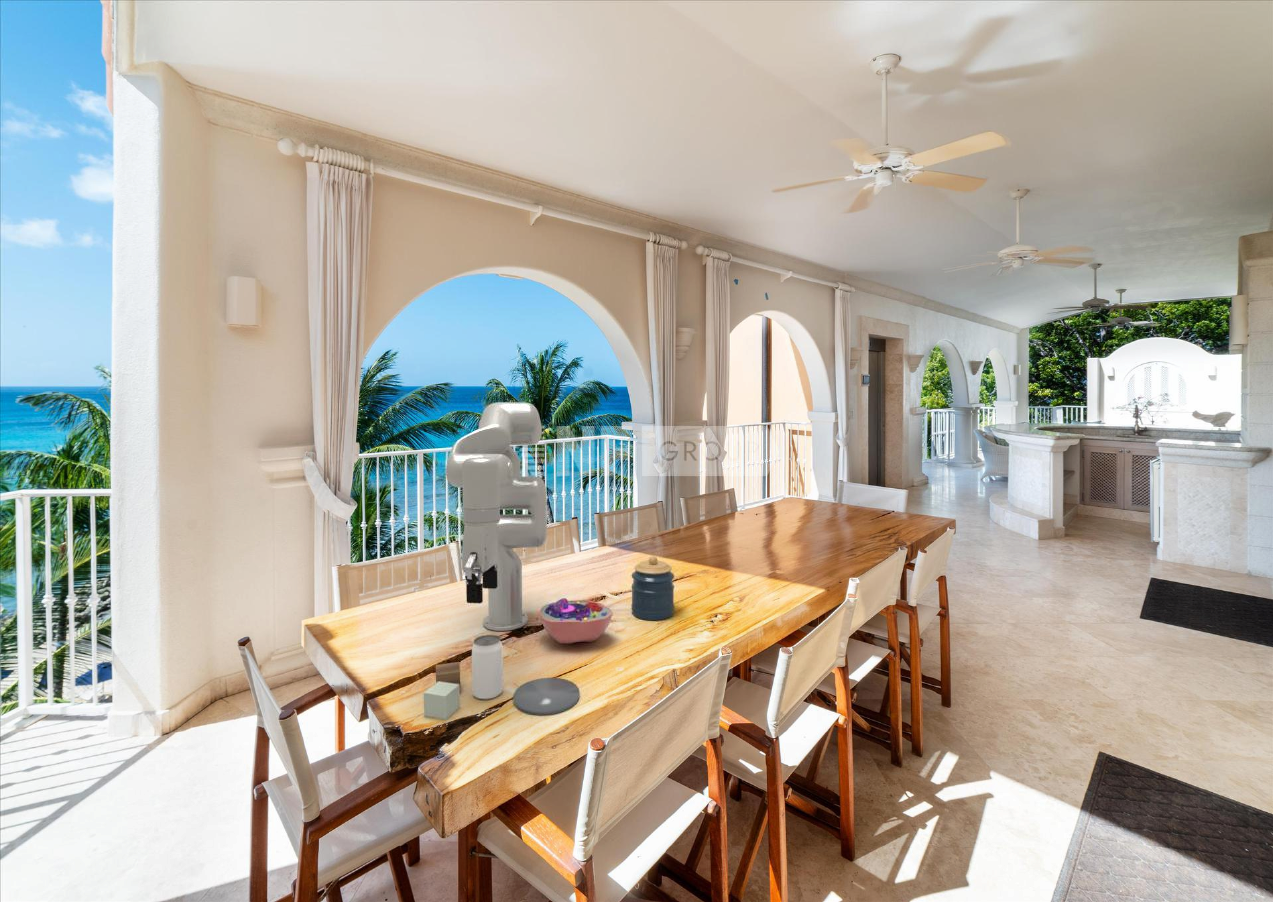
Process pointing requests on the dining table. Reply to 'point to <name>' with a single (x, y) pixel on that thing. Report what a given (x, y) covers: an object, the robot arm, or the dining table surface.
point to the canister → (652, 590)
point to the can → (487, 667)
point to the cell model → (575, 620)
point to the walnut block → (448, 673)
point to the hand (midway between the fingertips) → (482, 595)
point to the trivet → (546, 696)
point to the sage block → (441, 700)
